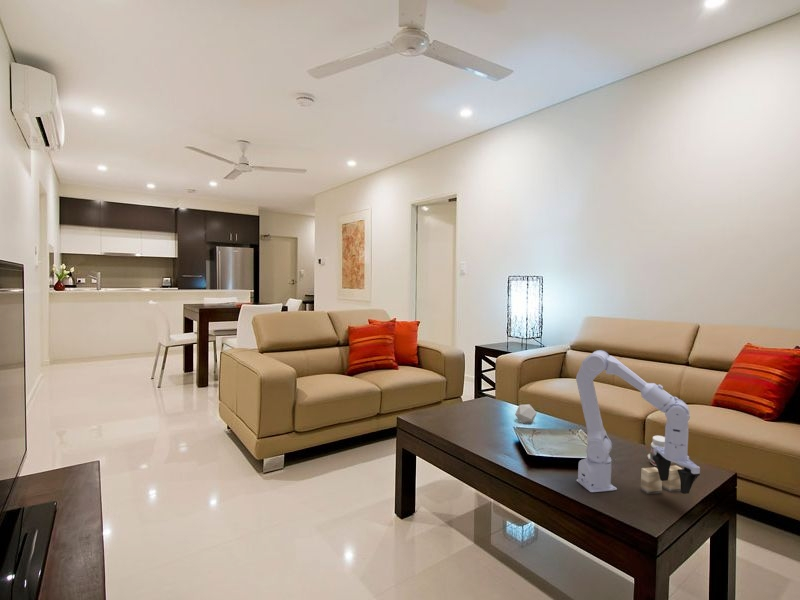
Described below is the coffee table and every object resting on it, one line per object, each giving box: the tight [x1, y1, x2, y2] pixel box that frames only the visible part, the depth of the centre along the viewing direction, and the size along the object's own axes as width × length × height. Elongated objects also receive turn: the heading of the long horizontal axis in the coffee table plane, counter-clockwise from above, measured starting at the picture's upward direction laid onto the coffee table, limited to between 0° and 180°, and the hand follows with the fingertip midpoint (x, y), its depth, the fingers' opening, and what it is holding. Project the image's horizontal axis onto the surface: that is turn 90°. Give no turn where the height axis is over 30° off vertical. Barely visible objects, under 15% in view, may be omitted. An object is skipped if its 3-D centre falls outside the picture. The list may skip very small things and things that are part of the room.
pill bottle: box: [649, 435, 665, 467], centre depth 150 cm, size 6×6×10 cm
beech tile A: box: [640, 466, 663, 495], centre depth 132 cm, size 5×3×7 cm, turn 100°
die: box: [514, 403, 538, 424], centre depth 195 cm, size 8×9×10 cm
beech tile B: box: [662, 464, 683, 493], centre depth 133 cm, size 5×3×7 cm, turn 100°
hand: (674, 486), depth 123 cm, fingers open, 7 cm apart
